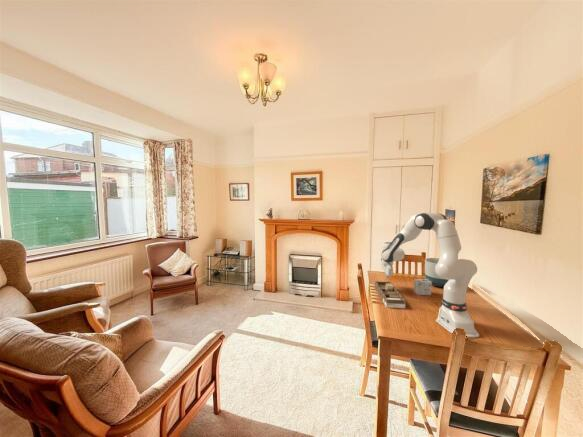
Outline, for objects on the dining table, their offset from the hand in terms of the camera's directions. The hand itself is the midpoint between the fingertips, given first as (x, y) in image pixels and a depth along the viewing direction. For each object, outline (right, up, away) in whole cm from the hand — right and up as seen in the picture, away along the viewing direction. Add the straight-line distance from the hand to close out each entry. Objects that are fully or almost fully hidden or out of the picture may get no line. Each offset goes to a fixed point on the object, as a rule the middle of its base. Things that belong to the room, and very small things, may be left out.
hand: (386, 277), depth 192 cm
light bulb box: (+25, -11, -7) cm, 28 cm away
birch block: (-1, -8, -7) cm, 11 cm away
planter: (+48, -9, +9) cm, 49 cm away
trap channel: (-4, -11, -13) cm, 18 cm away
